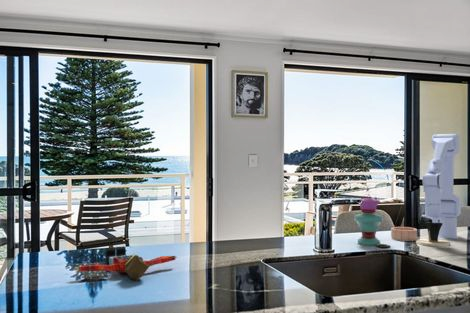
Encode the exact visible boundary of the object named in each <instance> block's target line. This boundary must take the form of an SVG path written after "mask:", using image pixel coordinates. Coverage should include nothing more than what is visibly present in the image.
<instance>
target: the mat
mask: <svg viewBox="0 0 470 313" xmlns="http://www.w3.org/2000/svg"><path fill="white" fill-rule="evenodd" d="M415 243H416V245H417V247H422V248H423V247H425V248H430V247H429V246H422V245H419V244H417V240H415ZM443 248H444V249H445V248H446V249H447V248H449V249H453V248H454V247H453V246H452V245H451V244H450V246H448V247H442V249H443Z"/></svg>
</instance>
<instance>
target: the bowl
mask: <svg viewBox="0 0 470 313" xmlns="http://www.w3.org/2000/svg"><path fill="white" fill-rule="evenodd" d="M390 237H391V239H392V240H396V241H404V242H405V241H406V242H411V241H412V242H414V241H417V240H418V229H417V228H415V227H411V226H410V227H409V226H393V227H390Z"/></svg>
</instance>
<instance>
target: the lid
mask: <svg viewBox="0 0 470 313" xmlns="http://www.w3.org/2000/svg"><path fill="white" fill-rule="evenodd" d="M428 234H429V235H428ZM427 235H428V238H419V239H418V238H417V240H416V241H417V243H416V245H417V244H419V245H422V246H429V247H428V248H443V247H448V246H450V245H451V242H450V241H449V240H446V239H441V238H438V240H437V241H432V240H431V237H430V231H429V230H428V229H427Z"/></svg>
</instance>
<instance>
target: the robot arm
mask: <svg viewBox="0 0 470 313" xmlns="http://www.w3.org/2000/svg"><path fill="white" fill-rule="evenodd" d="M431 146H432V148H433V150H434V154H433V159H430V161H429V164H428V165H427V166H428V167H427V170H426V173H424V174H423V176H422V187H423V192H424V214H422V215H421V217H422V218H425V219H423V221H424V223H425V225H426V228H427V231H428V230H429V231H430V237H431V240H432V241H437V240H438V239H441V238H442V239H460V237H459V236H458V228H457V227H458V225H457V224H458V222H457V220H458V217H459V216H461V213H462V204H461V199H460V197H459V196H457V195H456V194H455V193H454V174H455V173H454V172H455V171H454V170H455V156H456V155H458V154H459V153H460V136H459V133H444V134H443V133H441V134H439V133H437V134H436V133H435V134H433V135H432V137H431ZM427 235H428V236H429V234H428V233H427Z"/></svg>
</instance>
